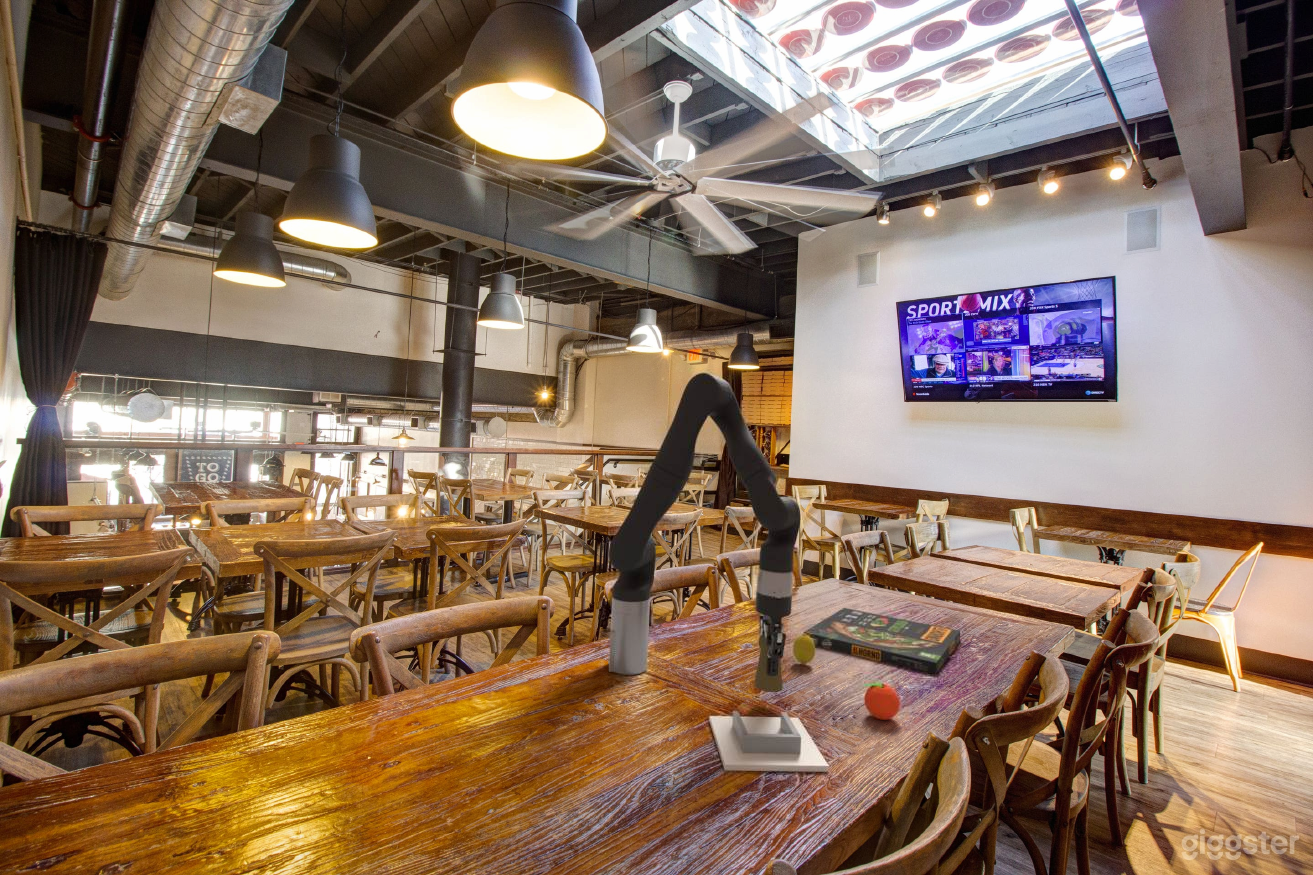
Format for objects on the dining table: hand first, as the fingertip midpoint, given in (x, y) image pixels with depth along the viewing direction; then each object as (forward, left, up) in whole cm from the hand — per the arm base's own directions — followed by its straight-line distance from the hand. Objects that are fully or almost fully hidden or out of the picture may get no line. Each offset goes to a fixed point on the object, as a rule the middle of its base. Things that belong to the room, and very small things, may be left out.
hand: (769, 670), depth 128 cm
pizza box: (+45, +45, -8) cm, 65 cm away
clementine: (+22, -4, -8) cm, 24 cm away
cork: (0, 0, -4) cm, 4 cm away
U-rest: (-5, -16, -8) cm, 18 cm away
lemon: (+15, +25, -8) cm, 30 cm away
